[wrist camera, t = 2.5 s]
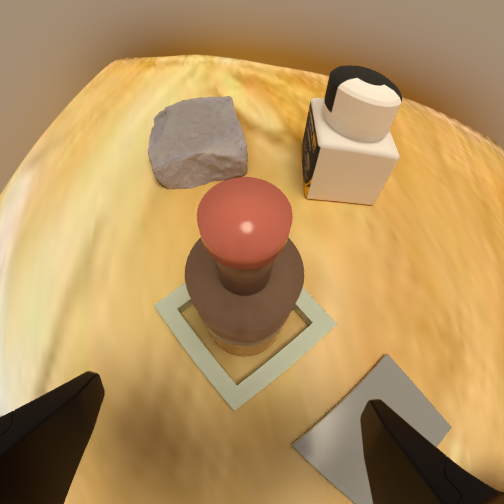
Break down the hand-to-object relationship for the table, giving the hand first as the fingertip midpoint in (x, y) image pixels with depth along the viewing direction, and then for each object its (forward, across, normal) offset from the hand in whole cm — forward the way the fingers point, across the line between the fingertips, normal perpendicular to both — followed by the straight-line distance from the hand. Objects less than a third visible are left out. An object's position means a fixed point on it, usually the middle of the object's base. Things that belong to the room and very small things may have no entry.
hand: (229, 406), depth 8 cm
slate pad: (+6, -11, +11) cm, 17 cm away
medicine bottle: (+24, -8, -6) cm, 26 cm away
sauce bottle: (+13, 0, +4) cm, 13 cm away
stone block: (+26, +7, -8) cm, 28 cm away
